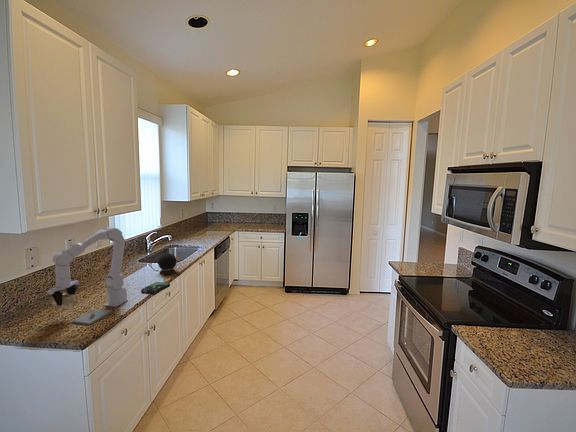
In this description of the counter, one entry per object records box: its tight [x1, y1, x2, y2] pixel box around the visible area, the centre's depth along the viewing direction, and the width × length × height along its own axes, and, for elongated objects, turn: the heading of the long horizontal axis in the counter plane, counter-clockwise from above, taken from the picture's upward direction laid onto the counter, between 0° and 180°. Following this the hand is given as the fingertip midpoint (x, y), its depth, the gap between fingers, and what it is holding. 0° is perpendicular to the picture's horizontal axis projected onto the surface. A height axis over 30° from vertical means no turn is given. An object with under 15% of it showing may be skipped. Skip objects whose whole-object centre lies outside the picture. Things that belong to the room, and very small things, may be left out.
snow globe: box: [157, 252, 178, 276], centre depth 223 cm, size 13×13×15 cm
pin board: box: [72, 307, 113, 326], centre depth 150 cm, size 14×10×5 cm
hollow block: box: [51, 292, 79, 310], centre depth 148 cm, size 6×9×5 cm, turn 78°
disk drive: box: [140, 281, 171, 295], centre depth 190 cm, size 10×3×15 cm
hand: (65, 302), depth 148 cm, fingers closed on hollow block, 6 cm apart
